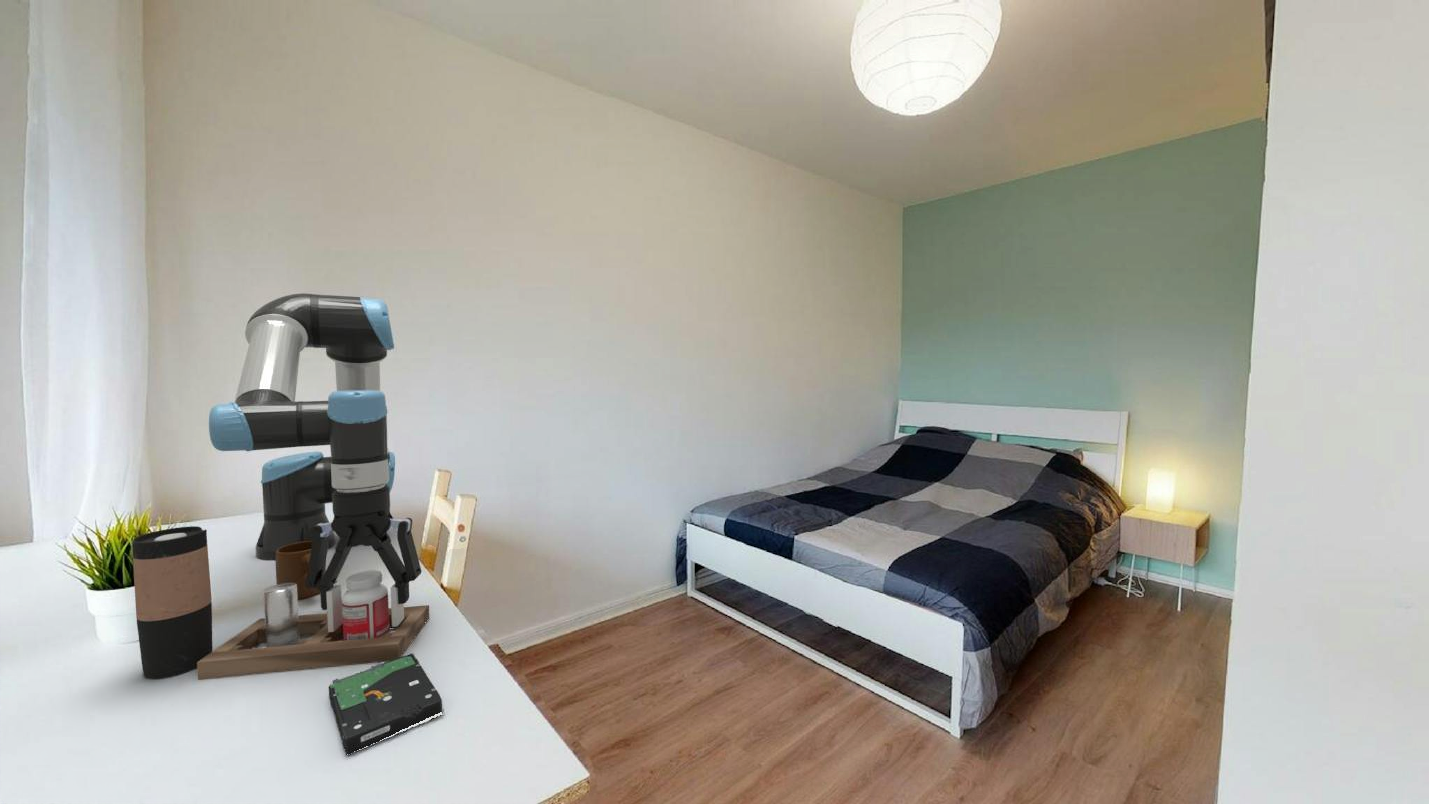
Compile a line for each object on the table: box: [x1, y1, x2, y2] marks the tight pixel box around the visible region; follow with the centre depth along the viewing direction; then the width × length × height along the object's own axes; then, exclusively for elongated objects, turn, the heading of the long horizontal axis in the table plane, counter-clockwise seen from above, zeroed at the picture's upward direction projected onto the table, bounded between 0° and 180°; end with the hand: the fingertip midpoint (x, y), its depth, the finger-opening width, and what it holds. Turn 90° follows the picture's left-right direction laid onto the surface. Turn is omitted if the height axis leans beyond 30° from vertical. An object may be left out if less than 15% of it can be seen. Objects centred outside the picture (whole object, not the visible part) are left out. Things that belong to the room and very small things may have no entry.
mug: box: [274, 541, 327, 600], centre depth 99 cm, size 12×8×9 cm, turn 54°
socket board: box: [196, 604, 430, 680], centre depth 81 cm, size 13×26×2 cm, turn 101°
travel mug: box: [131, 525, 213, 680], centre depth 75 cm, size 8×8×20 cm
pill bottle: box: [341, 569, 391, 641], centre depth 82 cm, size 6×6×11 cm
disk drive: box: [328, 653, 443, 756], centre depth 67 cm, size 10×3×15 cm
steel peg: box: [262, 583, 301, 648], centre depth 79 cm, size 4×4×10 cm
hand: (367, 625), depth 82 cm, fingers open, 8 cm apart
